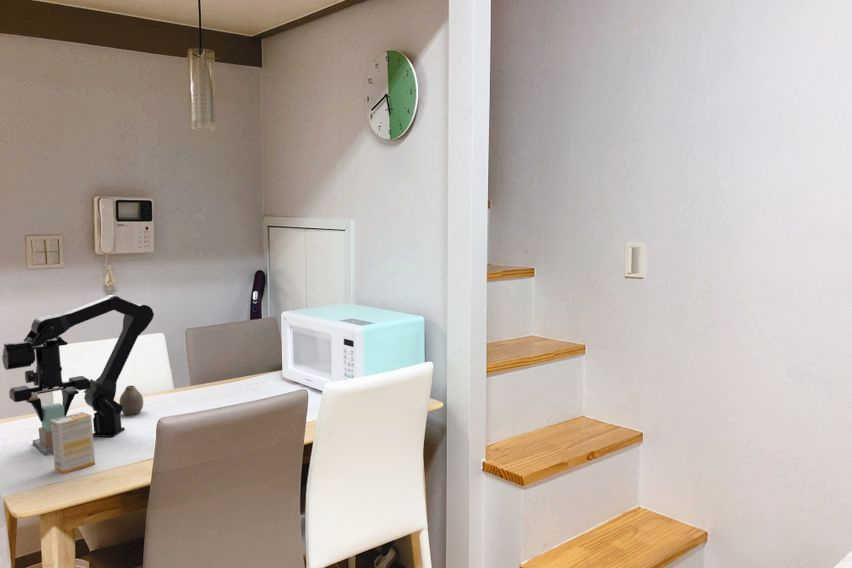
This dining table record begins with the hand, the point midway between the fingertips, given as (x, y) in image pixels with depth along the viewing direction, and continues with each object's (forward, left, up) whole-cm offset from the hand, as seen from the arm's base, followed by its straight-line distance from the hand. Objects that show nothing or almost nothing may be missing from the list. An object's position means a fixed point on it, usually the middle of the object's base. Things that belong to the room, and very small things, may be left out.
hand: (53, 419), depth 190 cm
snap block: (0, 0, -2) cm, 2 cm away
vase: (-6, -29, -8) cm, 31 cm away
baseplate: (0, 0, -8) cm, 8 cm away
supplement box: (-15, +14, -8) cm, 22 cm away
